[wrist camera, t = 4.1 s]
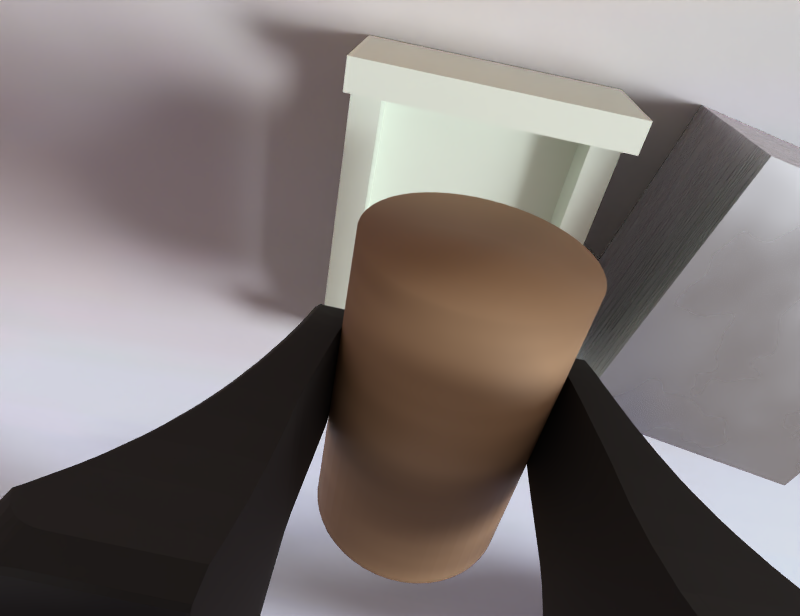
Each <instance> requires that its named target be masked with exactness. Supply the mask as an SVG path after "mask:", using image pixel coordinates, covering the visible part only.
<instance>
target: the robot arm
mask: <svg viewBox="0 0 800 616" xmlns="http://www.w3.org/2000/svg"><path fill="white" fill-rule="evenodd" d="M344 310H345V309H341V308H336V307H331V306H327V305H322V304H320V305H318V306H317V307H315V308H314V309H313V310H312V311H311V312H310V314H309V315H308V316H307V317H306V318H305V319H304V320H303V321H302V322H301V323H300V324H299V325H298V326H297V327H296V328H295V329H294V330H293V331H292V332H291V333H290V334H289V335H288V336H287V337H286V338H285V339H284V340H282V341H281V342H280V343H279V344H278V345H277V346H276V347H275V348H273V349H272V350H271V351H270V352H269V353H268V354H267V355H266V356H264V357H263V358H262V359H261V360H260V361H258V362H257V363H256V364H255V365H253V366H252V367H251V368H249V369H248V370H247V371H246V372H244V373H243V374H242V375H240V376H239V377H238V378H237V379H235V380H234V381H233V382H231V383H230V384H228V385H227V386H226V387H224V388H223V389H221V390H220V391H218V392H217V393H215V394H214V395H212V396H211V397H209V398H208V399H206V400H205V401H203V402H202V403H200V404H198V405H197V406H195V407H194V408H192V409H190V410H189V411H187V412H185V413H183V414H182V415H180V416H178V417H176V418H175V419H173V420H171V421H169V422H168V423H166V424H164V425H162V426H160V427H158V428H157V429H155V430H153V431H151V432H149V433H147V434H145V435H143V436H141V437H139V438H137V439H134V440H132V441H130V442H128V443H126V444H124V445H121V446H119V447H117V448H115V449H113V450H111V451H108V452H106V453H104V454H102V455H99V456H97V457H95V458H92V459H90V460H87V461H85V462H82V463H80V464H77V465H74V466H72V467H69V468H66V469H63V470H61V471H58V472H55V473H53V474H50V475H47V476H44V477H42V478H39V479H36V480H33V481H31V482H28V483H25V484H22V485H19V486H16V487H13V488H11V489H10V491H9V492H8V493H7V494H6V495H5V496H4V497H3V498H2V499H1V500H0V616H260V614H261V611H262V607H263V603H264V600H265V596H266V593H267V589H268V586H269V582H270V579H271V575H272V572H273V569H274V565H275V562H276V558H277V555H278V552H279V548H280V545H281V541H282V538H283V534H284V531H285V528H286V526H287V523H288V520H289V517H290V514H291V511H292V509H293V506H294V504H295V501H296V499H297V496H298V494H299V491H300V489H301V486H302V484H303V481H304V479H305V476H306V474H307V471H308V469H309V466H310V464H311V461H312V459H313V456H314V454H315V451H316V449H317V446H318V444H319V441H320V439H321V436H322V433H323V431H324V428H325V426H326V423H327V420H328V416H329V411H330V404H331V397H332V391H333V384H334V377H335V370H336V364H337V357H338V350H339V344H340V337H341V330H342V324H343V317H344ZM527 470H528V478H529V486H530V494H531V501H532V509H533V516H534V523H535V530H536V538H537V545H538V552H539V560H540V569H541V579H542V598H543V616H800V589H799V588H798V587H797V586H796V585H794V584H793V583H792V582H791V581H790V580H788V579H787V578H786V577H785V576H783V575H782V574H781V573H780V572H778V571H777V570H776V569H775V568H774V567H772V566H771V565H770V564H769V563H768V562H767V561H765V560H764V559H763V558H762V557H761V556H760V555H759V554H757V553H756V552H755V551H754V550H753V549H752V548H751V547H749V546H748V545H747V544H746V543H745V542H744V541H743V540H741V539H740V538H739V537H738V536H737V535H736V534H735V533H734V532H733V531H731V530H730V529H729V528H728V527H727V526H726V525H725V524H724V523H723V522H722V521H721V520H720V519H719V518H718V517H717V516H716V515H715V514H714V513H713V512H712V511H711V510H710V509H709V508H708V507H707V506H706V505H705V504H704V503H703V502H702V501H701V500H700V499H699V498H698V497H697V496H696V495H695V494H694V493H693V492H692V491H691V490H690V489H689V488H688V487H687V486H686V485H685V484H684V483H683V482H682V481H681V480H680V479H679V477H678V476H677V475H676V474H675V473H674V472H673V471H672V469H671V468H670V467H669V466H668V465H667V464H666V463H665V461H664V460H663V459H662V458H661V457H660V456H659V455H658V453H657V452H656V451H655V450H654V449H653V447H652V446H651V445H650V444H649V443H648V441H647V440H646V439H645V438H644V437H643V435H642V434H641V433H640V432H639V430H638V429H637V428H636V426H635V425H634V424H633V423H632V421H631V420H630V419H629V417H628V416H627V415H626V414H625V412H624V411H623V410H622V408H621V407H620V406H619V404H618V403H617V402H616V400H615V399H614V398H613V396H612V395H611V394H610V392H609V391H608V390H607V388H606V387H605V385H604V384H603V383H602V381H601V380H600V379H599V377H598V376H597V375H596V373H595V372H594V371H593V370H592V368H591V367H590V366H589V364H588V363H587V362H586V361H585V360H581V359H577V358H576V359H575V361H574V363H573V365H572V368H571V370H570V372H569V374H568V376H567V378H566V380H565V383H564V385H563V387H562V389H561V391H560V393H559V395H558V398H557V400H556V402H555V404H554V406H553V408H552V410H551V413H550V415H549V417H548V419H547V421H546V423H545V425H544V428H543V430H542V432H541V434H540V436H539V438H538V441H537V443H536V445H535V447H534V449H533V451H532V453H531V456H530V458H529V460H528V462H527Z"/></svg>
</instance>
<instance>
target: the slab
mask: <svg viewBox="0 0 800 616" xmlns="http://www.w3.org/2000/svg"><path fill="white" fill-rule="evenodd" d="M598 262H599V263H600V265H601V267H602V268H603V270H604V273H605V276H606V279H607V290H606V295H605V297H604V299H603V301H602V303H601V305H600V307H599V310H598V312H597V314H596V316H595V318H594V320H593V322H592V325H591V327H590V329H589V331H588V333H587V335H586V337H585V340H584V342H583V344H582V346H581V348H580V350H579V353H578V355H577V357H576V358H577V359H581V360H585V361H586V362H587V363H588V364H589V366H590V367H591V368H592V370H593V371H594V372H595V373H596V375H597V376H598V377H599V379H600V380H601V381H602V383H603V384H604V385H605V387H606V388H607V390H608V391H609V392H610V394H611V395H612V396H613V398H614V399H615V400H616V402H617V403H618V404H619V406H620V407H621V408H622V410H623V411H624V412H625V414H626V415H627V416H628V417H629V419H630V420H631V421H632V423H633V424H634V425H635V426H636V428H637V429H638V430H639V432H640V433H641V434H643V435H646V436H649V437H651V438H654V439H657V440H660V441H662V442H665V443H668V444H671V445H674V446H676V447H679V448H682V449H685V450H687V451H690V452H693V453H696V454H699V455H701V456H704V457H707V458H710V459H713V460H715V461H718V462H721V463H724V464H726V465H729V466H732V467H735V468H738V469H740V470H743V471H746V472H749V473H751V474H754V475H757V476H760V477H763V478H765V479H768V480H771V481H774V482H776V483H779V484H782V485H786V484H787V483H788V482H789V481H791V480H792V479H793V478H794V477H795V476H797V475H798V474H799V473H800V147H797V146H795V145H793V144H790V143H788V142H786V141H783V140H781V139H779V138H777V137H774V136H772V135H770V134H767V133H765V132H763V131H760V130H758V129H756V128H754V127H751V126H749V125H747V124H744V123H742V122H740V121H737V120H735V119H733V118H731V117H728V116H726V115H724V114H721V113H719V112H717V111H714V110H712V109H710V108H707V107H705V106H703V105H702V106H701V107H700V109H699V110H698V112H697V113H696V115H695V116H694V118H693V119H692V121H691V122H690V124H689V125H688V127H687V128H686V130H685V131H684V133H683V134H682V136H681V137H680V139H679V140H678V142H677V143H676V145H675V146H674V148H673V149H672V151H671V152H670V154H669V155H668V157H667V158H666V160H665V161H664V163H663V164H662V166H661V167H660V169H659V170H658V172H657V173H656V175H655V176H654V178H653V179H652V181H651V182H650V184H649V185H648V187H647V189H646V190H645V192H644V193H643V195H642V196H641V198H640V199H639V201H638V202H637V204H636V205H635V207H634V208H633V210H632V211H631V213H630V214H629V216H628V217H627V219H626V220H625V222H624V223H623V225H622V226H621V228H620V229H619V231H618V232H617V234H616V235H615V237H614V238H613V240H612V241H611V243H610V244H609V246H608V247H607V249H606V250H605V252H604V253H603V255H602V256H601V258H600V259H599V261H598Z"/></svg>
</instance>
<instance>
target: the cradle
mask: <svg viewBox="0 0 800 616" xmlns="http://www.w3.org/2000/svg"><path fill="white" fill-rule="evenodd" d="M343 92H344V93H349V94H350V102H349V110H348V118H347V126H346V134H345V142H344V150H343V158H342V166H341V174H340V182H339V190H338V198H337V207H336V215H335V223H334V231H333V239H332V247H331V255H330V263H329V271H328V279H327V287H326V295H325V303H324V305H327V306H331V307H336V308H341V309H345V304H346V297H347V290H348V284H349V277H350V270H351V264H352V257H353V250H354V244H355V237H356V230H357V224H358V221H359V219H360V217H361V215H362V214H363V213H364V211H365V210H366V209H368V208H369V207H370V206H372V205H373V204H375V203H377V202H379V201H381V200H383V199H386V198H389V197H392V196H397V195H401V194H408V193H419V192H440V193H453V194H461V195H468V196H473V197H479V198H483V199H487V200H492V201H495V202H499V203H502V204H506V205H509V206H512V207H515V208H518V209H520V210H523V211H525V212H528V213H531V214H533V215H535V216H537V217H539V218H542V219H544V220H546V221H548V222H549V223H551V224H553V225H555V226H557V227H558V228H560V229H562V230H563V231H565V232H567V233H568V234H569V235H571V236H572V237H574V238H575V239H577V240H578V241H579V242H580V243H581V244H584V242H585V239H586V237H587V235H588V232H589V230H590V227H591V225H592V223H593V220H594V218H595V215H596V213H597V210H598V208H599V206H600V203H601V201H602V198H603V196H604V193H605V191H606V189H607V186H608V184H609V181H610V179H611V176H612V174H613V172H614V169H615V167H616V164H617V162H618V159H619V157H620V155H621V152H622V153H627V154H632V155H636V156H638V155H639V153H640V150H641V148H642V146H643V143H644V141H645V139H646V136H647V134H648V132H649V129H650V127H651V125H652V122H653V121H652V120H651V119H650V118H649V117H648V116H647V115H646V114H645V113H644V112H643V111H642V110H641V109H640V108H639V107H638V106H637V105H636V104H635V103H634V102H633V101H632V100H631V99H630V98H629V97H628V96H627V95H626V94H625V93H624V92H623V91H622V90H621V89H616V88H612V87H607V86H602V85H598V84H593V83H589V82H584V81H579V80H575V79H570V78H565V77H561V76H556V75H552V74H547V73H542V72H538V71H533V70H529V69H524V68H519V67H515V66H510V65H505V64H501V63H496V62H492V61H487V60H482V59H478V58H473V57H469V56H464V55H459V54H455V53H450V52H445V51H441V50H436V49H432V48H427V47H422V46H418V45H413V44H409V43H404V42H399V41H395V40H390V39H385V38H381V37H376V36H372V35H369V36H368V37H367V38H365V39H364V40H363V41H362V42H361V43H360V44H359V45H358V46H357V47H356V48H355V49H353V50H352V51H351V52H350V53H349V54H348V55H347V60H346V68H345V77H344V86H343Z"/></svg>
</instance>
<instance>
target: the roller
mask: <svg viewBox="0 0 800 616" xmlns="http://www.w3.org/2000/svg"><path fill="white" fill-rule="evenodd" d="M606 290H607V279H606V276H605V273H604V270H603V268H602V267H601V265H600V263H599V262H598V260H597V259H596V258H595V257H594V255H593V254H592V253H591V252H590V251H589V250H588V249H587V248H586V247H585V246H584V245H583V244H581V243H580V242H579V241H578V240H577V239H575V238H574V237H572V236H571V235H569V234H568V233H567V232H565V231H563V230H562V229H560V228H558V227H557V226H555V225H553V224H551V223H549V222H548V221H546V220H544V219H542V218H539V217H537V216H535V215H533V214H531V213H528V212H525V211H523V210H520V209H518V208H515V207H512V206H509V205H506V204H502V203H499V202H495V201H492V200H487V199H483V198H479V197H473V196H468V195H461V194H453V193H440V192H419V193H408V194H401V195H397V196H392V197H389V198H386V199H383V200H381V201H379V202H377V203H375V204H373V205H372V206H370V207H369V208H368V209H366V210H365V211H364V213H363V214H362V215H361V217H360V219H359V221H358V224H357V230H356V237H355V244H354V250H353V257H352V264H351V270H350V277H349V284H348V290H347V297H346V304H345V310H344V317H343V324H342V330H341V337H340V344H339V350H338V357H337V364H336V370H335V377H334V384H333V391H332V397H331V404H330V411H329V417H328V424H327V431H326V437H325V444H324V451H323V457H322V464H321V471H320V477H319V484H318V505H319V511H320V514H321V518H322V521H323V523H324V525H325V527H326V529H327V531H328V533H329V535H330V536H331V538H332V539H333V541H334V542H335V543H336V544H337V546H338V547H339V548H340V549H341V550H342V551H343V552H344V553H345V554H346V555H347V556H348V557H349V558H351V559H352V560H353V561H354V562H356V563H357V564H359V565H360V566H362V567H363V568H365V569H367V570H369V571H371V572H373V573H375V574H377V575H379V576H382V577H385V578H388V579H391V580H396V581H400V582H407V583H431V582H437V581H442V580H445V579H448V578H452V577H454V576H456V575H458V574H460V573H462V572H464V571H465V570H467V569H468V568H470V567H471V566H472V565H473V564H474V563H475V562H476V561H477V560H479V559H480V557H481V556H482V555H483V553H484V552H485V551H486V549H487V547H488V545H489V543H490V541H491V539H492V537H493V535H494V533H495V531H496V529H497V526H498V524H499V522H500V520H501V518H502V516H503V514H504V511H505V509H506V507H507V505H508V503H509V501H510V498H511V496H512V494H513V492H514V490H515V488H516V486H517V483H518V481H519V479H520V477H521V475H522V473H523V471H524V468H525V466H526V464H527V462H528V460H529V458H530V456H531V453H532V451H533V449H534V447H535V445H536V443H537V441H538V438H539V436H540V434H541V432H542V430H543V428H544V425H545V423H546V421H547V419H548V417H549V415H550V413H551V410H552V408H553V406H554V404H555V402H556V400H557V398H558V395H559V393H560V391H561V389H562V387H563V385H564V383H565V380H566V378H567V376H568V374H569V372H570V370H571V368H572V365H573V363H574V361H575V359H576V357H577V355H578V353H579V350H580V348H581V346H582V344H583V342H584V340H585V337H586V335H587V333H588V331H589V329H590V327H591V325H592V322H593V320H594V318H595V316H596V314H597V312H598V310H599V307H600V305H601V303H602V301H603V299H604V297H605V295H606Z"/></svg>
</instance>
